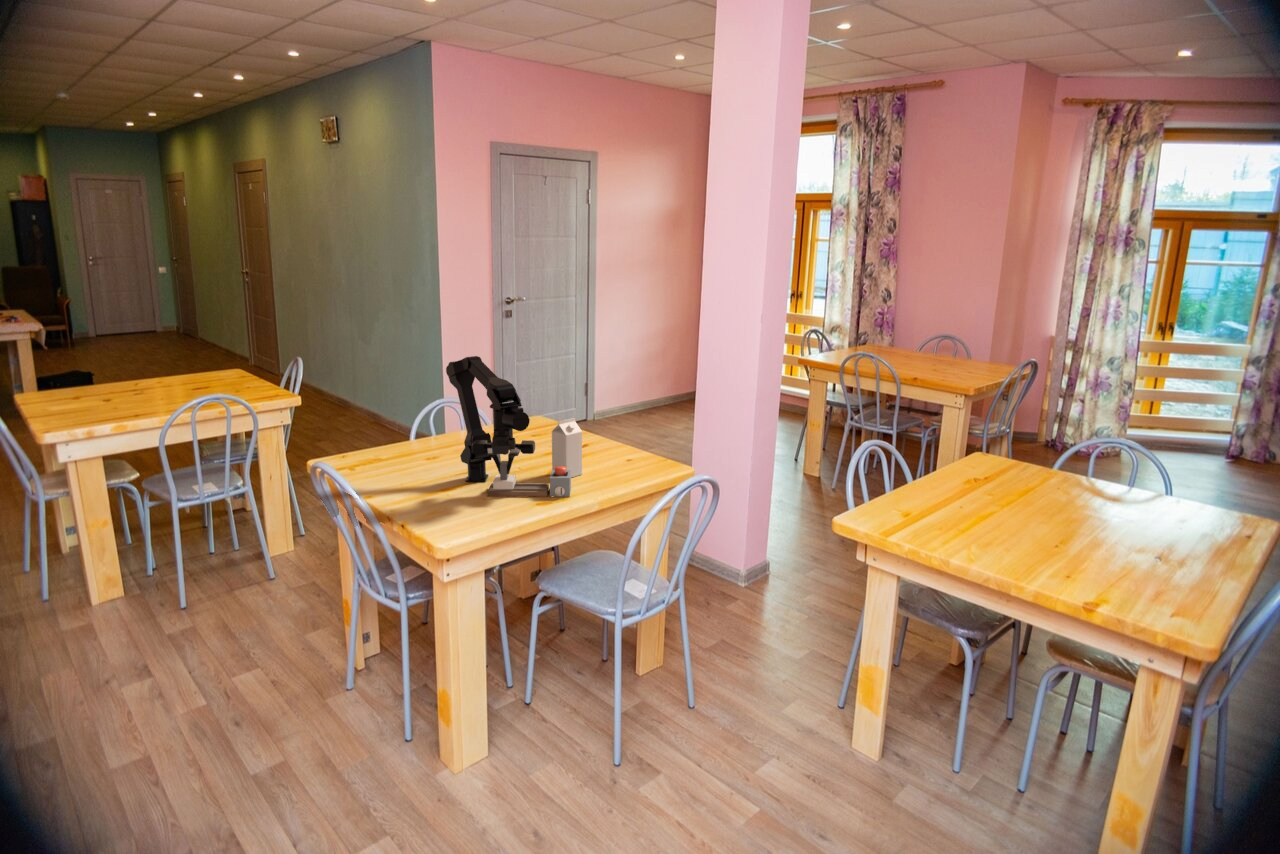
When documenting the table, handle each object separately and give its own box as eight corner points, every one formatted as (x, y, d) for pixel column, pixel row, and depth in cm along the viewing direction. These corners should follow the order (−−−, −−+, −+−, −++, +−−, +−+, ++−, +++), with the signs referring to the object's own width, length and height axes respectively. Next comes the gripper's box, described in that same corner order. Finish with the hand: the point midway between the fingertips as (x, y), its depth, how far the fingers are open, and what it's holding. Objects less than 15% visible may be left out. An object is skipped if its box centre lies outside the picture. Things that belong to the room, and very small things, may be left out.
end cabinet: (552, 488, 240) (551, 470, 238) (571, 488, 240) (570, 470, 239) (549, 497, 232) (549, 478, 230) (569, 497, 232) (569, 478, 230)
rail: (491, 488, 239) (491, 481, 239) (548, 488, 240) (548, 481, 239) (487, 496, 231) (487, 489, 231) (546, 496, 232) (546, 490, 231)
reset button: (555, 475, 236) (555, 466, 236) (566, 475, 237) (566, 466, 236) (554, 478, 233) (554, 469, 232) (566, 478, 233) (565, 469, 232)
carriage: (496, 481, 238) (495, 459, 236) (515, 481, 238) (515, 459, 237) (493, 489, 231) (492, 465, 230) (513, 489, 232) (512, 465, 230)
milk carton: (552, 474, 253) (551, 419, 249) (568, 470, 258) (567, 415, 254) (566, 479, 249) (565, 423, 244) (582, 474, 254) (582, 419, 249)
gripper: (466, 430, 222) (469, 481, 226) (531, 431, 223) (532, 482, 226) (473, 421, 233) (475, 470, 237) (535, 422, 233) (535, 470, 237)
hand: (504, 473), depth 234 cm, fingers closed on carriage, 2 cm apart
